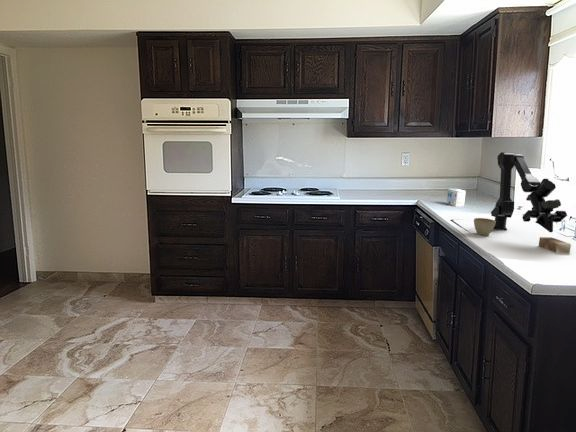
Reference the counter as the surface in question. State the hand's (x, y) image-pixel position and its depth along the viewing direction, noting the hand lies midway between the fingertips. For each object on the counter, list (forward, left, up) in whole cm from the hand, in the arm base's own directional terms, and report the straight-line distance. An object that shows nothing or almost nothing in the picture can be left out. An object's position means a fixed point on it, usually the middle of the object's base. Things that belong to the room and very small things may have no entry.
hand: (551, 231), depth 210 cm
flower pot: (-15, -26, -7) cm, 31 cm away
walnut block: (-3, -1, -5) cm, 6 cm away
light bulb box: (-105, -35, -7) cm, 111 cm away
